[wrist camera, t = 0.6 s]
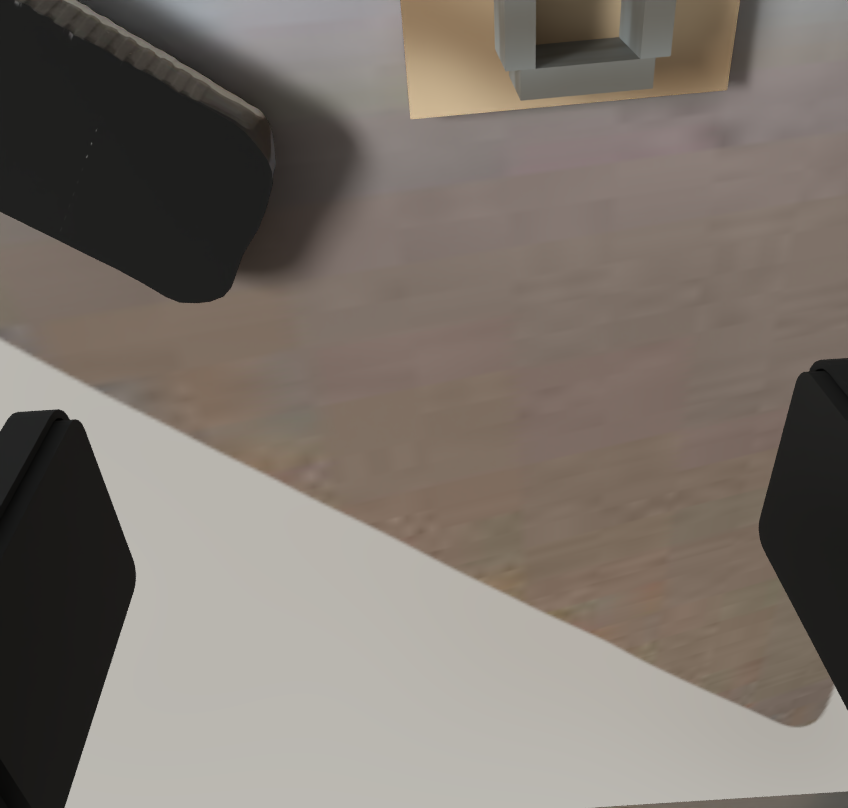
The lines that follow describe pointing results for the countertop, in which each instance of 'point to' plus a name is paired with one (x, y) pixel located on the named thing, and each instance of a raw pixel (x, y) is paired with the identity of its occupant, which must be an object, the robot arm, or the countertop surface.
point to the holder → (561, 52)
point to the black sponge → (127, 150)
